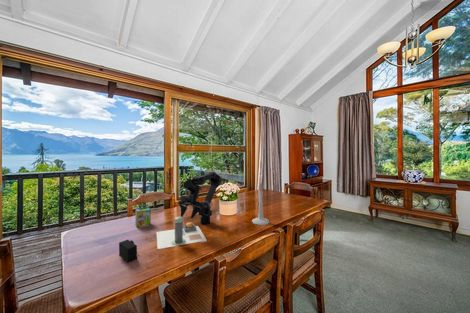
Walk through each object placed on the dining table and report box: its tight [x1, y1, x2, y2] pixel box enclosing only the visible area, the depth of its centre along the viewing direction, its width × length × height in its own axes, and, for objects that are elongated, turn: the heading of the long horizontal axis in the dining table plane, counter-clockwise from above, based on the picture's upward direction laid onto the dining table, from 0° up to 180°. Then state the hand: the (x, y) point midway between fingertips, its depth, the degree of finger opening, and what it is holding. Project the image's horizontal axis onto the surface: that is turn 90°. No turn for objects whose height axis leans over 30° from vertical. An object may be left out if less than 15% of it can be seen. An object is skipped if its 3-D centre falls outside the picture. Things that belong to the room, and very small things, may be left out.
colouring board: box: [156, 225, 207, 250], centre depth 121 cm, size 27×24×1 cm
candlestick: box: [251, 182, 270, 226], centre depth 147 cm, size 13×13×30 cm
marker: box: [174, 216, 184, 244], centre depth 113 cm, size 5×5×14 cm
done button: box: [185, 221, 194, 228], centre depth 131 cm, size 4×4×2 cm
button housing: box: [183, 223, 196, 232], centre depth 131 cm, size 7×7×2 cm
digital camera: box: [118, 239, 138, 264], centre depth 98 cm, size 10×5×7 cm, turn 51°
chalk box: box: [134, 203, 152, 229], centre depth 140 cm, size 9×9×15 cm
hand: (186, 217), depth 124 cm, fingers open, 9 cm apart
